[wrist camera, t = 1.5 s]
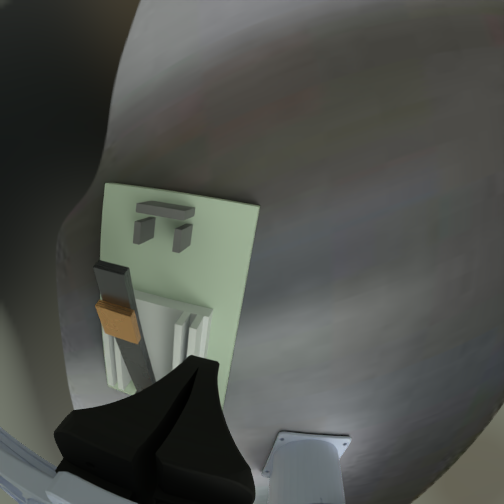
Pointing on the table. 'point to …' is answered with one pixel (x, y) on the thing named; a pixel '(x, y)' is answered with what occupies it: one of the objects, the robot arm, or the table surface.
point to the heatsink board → (178, 274)
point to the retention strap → (123, 320)
